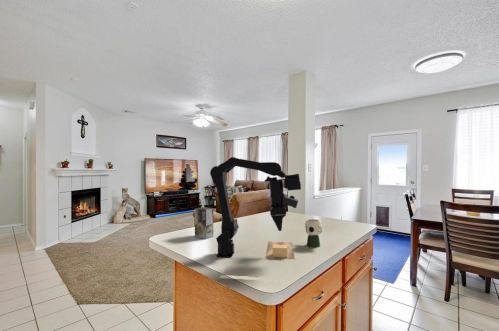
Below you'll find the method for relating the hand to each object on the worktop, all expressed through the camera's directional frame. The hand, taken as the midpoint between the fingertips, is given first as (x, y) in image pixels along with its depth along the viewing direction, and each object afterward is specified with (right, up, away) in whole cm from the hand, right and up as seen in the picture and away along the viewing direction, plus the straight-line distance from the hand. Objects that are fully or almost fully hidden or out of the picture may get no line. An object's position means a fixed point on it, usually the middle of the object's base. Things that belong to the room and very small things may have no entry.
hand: (280, 228), depth 96 cm
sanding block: (0, -12, 0) cm, 12 cm away
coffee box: (-39, -14, +32) cm, 52 cm away
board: (+1, -13, +7) cm, 15 cm away
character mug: (+18, -13, +13) cm, 26 cm away
